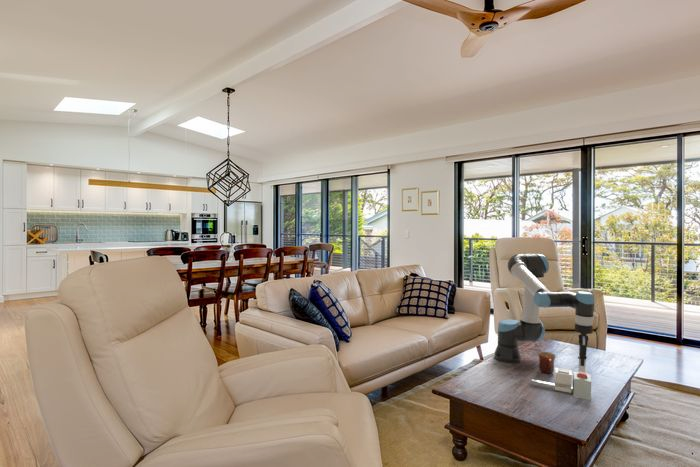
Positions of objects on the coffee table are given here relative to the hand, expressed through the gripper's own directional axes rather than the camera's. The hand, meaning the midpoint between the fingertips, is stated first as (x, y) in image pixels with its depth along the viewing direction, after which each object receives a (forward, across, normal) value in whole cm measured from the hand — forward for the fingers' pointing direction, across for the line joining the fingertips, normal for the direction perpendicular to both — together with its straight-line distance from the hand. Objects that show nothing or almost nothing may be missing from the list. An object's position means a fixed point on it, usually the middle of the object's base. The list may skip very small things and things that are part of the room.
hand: (581, 371), depth 189 cm
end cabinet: (+11, 0, 0) cm, 11 cm away
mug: (+12, +20, +15) cm, 28 cm away
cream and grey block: (+10, 0, +8) cm, 13 cm away
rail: (+12, 0, +12) cm, 17 cm away
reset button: (+4, 0, 0) cm, 4 cm away
